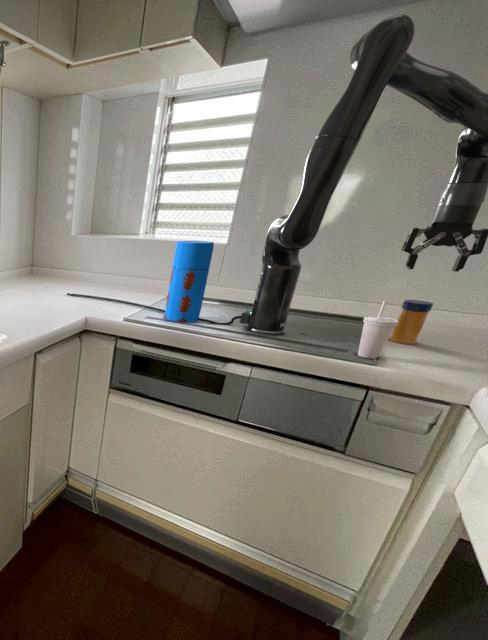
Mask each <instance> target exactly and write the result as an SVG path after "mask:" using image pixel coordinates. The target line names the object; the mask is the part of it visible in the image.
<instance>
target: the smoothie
mask: <svg viewBox="0 0 488 640" xmlns="http://www.w3.org/2000/svg"><path fill="white" fill-rule="evenodd" d="M387 302H388V301H386V300H383V301H382V304H381V307H380V309H379V312H378V315H377V316H376V315H367V316H364V318H363V320H362V321H363V327H362V332H361V336H360V340H359V341H360V342H359V346H358V352H357V356H358V357H360V358H361V357H362V358H366V359H377V358H378V357H379V355H380V354H381V352H382V350H383V349H384V346H385V345H386V343H387V342H388V340H389V339H390V337H391V335H392V333H393V330H394V328H395V326H398V323H399V321H398V319H395V318H391V317H385V316H382V315H383V312H384V309H385V307H386V304H387Z"/></svg>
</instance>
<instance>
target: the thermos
mask: <svg viewBox="0 0 488 640" xmlns="http://www.w3.org/2000/svg"><path fill="white" fill-rule="evenodd" d="M214 247H215V242H214V241H209V240H208V241H207V240H178V241H177V243H176V245H175V251H174V257H173V261H172V262H173V263H172V269H171V273H170V274H171V275H170V280H169V286H168V292H167V297H166V304H165V310H166V311H165V312H164V318H165V319H166V320H168V321H171V322H176V323H177V322H178V323H185V324H186V323H197V322H198V318H200V314H201V310H202V308H203V307H202V306H203V302H204V296H205V292H206V287H207V282H208V278H209V272H210V268H211V267H210V266H211V262H212V257H213V252H214Z"/></svg>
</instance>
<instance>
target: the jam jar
mask: <svg viewBox="0 0 488 640" xmlns="http://www.w3.org/2000/svg"><path fill="white" fill-rule="evenodd" d="M429 313H430V311H428V312H422V311H412V310H407V309H403V308H402V307H401V310H400V313H399V315H398V318H397V320H398V321H399V323H398V326H395V328H394V330H393V331H392V333H391V335H390V337H389V340H390V341H392V342H395V343H398V344H403V345H404V344H405V345H414V344H416V343H417V341H418V339H419V336H420V333H421V331H422V330H423V327H424V324H425V322H426V320H427V317H428V315H429Z"/></svg>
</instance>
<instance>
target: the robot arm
mask: <svg viewBox="0 0 488 640" xmlns="http://www.w3.org/2000/svg"><path fill="white" fill-rule="evenodd" d="M415 33H416V25H415V22H414V20H413V18H412V17H411V16H409V15H408V14H404V13H399V14H397V13H396V14H394V15H391V16H388V17H386V18H385V19H383V20H381V21H380V22H378V23H377V24H375V25H374V26H372V27H371V28H370V29H369V30H368V31H366V32H365V33H364V34H363V35H362V36H361V37H360V38H359V39H357V40H356V41H355V43H354V44H353V46H352V48H351V49H350V52H349V56H348V61H349V66H350V68H351V69H352V71H354V72H353V74H352V76H351V78H350V81H349V83H348V85H347V87H346V89H345V91H344V92H343V94H342V96H341V98H340V99H339V100H338V102H337V103H336V104H335V106H334V107H333V109H332V110H331V112H330V113H329V114H328V116H327V117H326V119H325V121H324V122H323V124H322V126H321V127H320V129H319V131H318V133H317V135H316V136H315V139H314V141H313V142H312V145H311V147H310V149H309V152H308V155H307V157H306V160H305V164H304V170H303V177H302V186H301V190H300V193H299V196H298V198H297V200H296V202H295V204H294V205H293V208H292V210H291V212H290V214H285V215H282V216H280V217H278V218H276V219H275V220H274V221H273V222H272V223H271V224H270V227H269V228H268V231H267V234H266V236H265V237H266V238H265V241H264V247H263V252H262V257H261V272H260V275H259V280H258V283H257V288H256V292H255V296H254V298H253V302H252V307H251V309H250V310H245V311H243V312H241V315H237V316H234V317H232V318H231V319H230V321H227V322H218V321H214V320H211V319H207V318H200V317H199V318H198V321H199V322H205V323H209V324H212V325H225V326H230V325H232V324H234V322H235V321H236V320H239V324H244V325H246V331H248V332H253V333H257V334H262V335H272V336H278V335H282V334H284V331H285V327H287V324H288V322H287V320H288V316H289V313H290V309H291V305H292V302H293V298H294V295H295V292H296V288H297V285H298V281H299V278H300V274H301V271H302V264H301V262H300V257H299V255H300V252H301V250H303V249H304V248H305V249H306V247H308V246H309V245H310V244H311V243H312V242H313V241H314V240H315V239H316V237H317V234H318V233H319V230H320V229H321V225H322V222H323V219H324V217H325V214H326V212H327V209H328V206H329V203H330V202H331V199H332V197H333V195H334V193H335V191H336V189H337V187H338V185H339V183H340V181H341V180H342V178H343V175H344V173H345V171H346V169H347V167H348V165H349V163H350V161H351V160H352V158H353V156H354V154H355V152H356V150H357V148H358V146H359V143H360V142H361V139H362V137H363V135H364V133H365V130H366V128H367V127H368V125H369V122H370V120H371V119H372V116H373V114H374V112H375V111H376V108H377V105H378V103H379V101H380V99H381V96H382V95H383V92H384V90H385V88H386V87H387V86H388V87H389V88H392V89H393V90H396V91H397V92H399V93H401V94H402V95H404V96H406V97H408V98H410V99H412V100H413V101H415V102H416V103H417V104H418V105H420V106H421V107H422V108H425V109H426V110H427V111H429V112H430V113H431V114H433V115H434V116H435V117H437V118H438V119H440V120H441V121H443V122H445V123H448V124H459V125H461V126H463V127H462V129H461V131H460V133H459V134H458V138H457V143H456V148H455V155H454V157H455V158H454V166H453V167H452V170H451V172H450V174H449V176H448V180H447V182H446V185H445V187H444V188H443V191H442V192H441V194H440V195H439V199H438V202H437V204H436V206H435V209H434V212H433V214H432V217H431V219H430V222H429V224H428V226H427V227H426V228H420V227H419V228H418V227H412V228H410V229H409V231H408V233H407V236H406V238H405V240H404V242H403V245H402V247H401V252H404V253H407V254H408V257H407V259H406V262H405V267H406V269H407V270H414V268H415V265H416V263H417V260H418V258H419V253H421V252H422V251H424V250H425V249H427V248H429V247H430V246H434V247H441V246H444V247H454V248H455V249H456V251H457V252H458V254H459V255H457V257H456V259H455V261H454V264H453V266H452V268H451V272H456V273H458V272H460V270H463V269H464V268H465V266H466V264H467V261H468V259H469V257H471V256H474V255H480V254H482V253H483V250H484V248H485V245H486V242H487V240H488V228H480V229H479V228H478V229H477V228H476V229H473V225H474V224H475V221H476V219H477V216H478V215H479V212H480V209H481V207H482V205H483V203H484V202H485V199H486V196H487V193H488V92H485V91H483V90H482V89H481V88H480V87H478V86H477V85H475V84H474V83H473V82H471V81H470V80H468V79H467V78H465V76H463V75H461V74H459V73H457V72H455V71H452V70H449V69H446V68H443V67H440V66H436V65H432V64H429V63H426V62H423V61H422V60H420V59H417V58H416V57H414V56H413V55H411V53H409V52H408V50H409V48H410V47H411V45H412V43H413V40H414V36H415ZM422 234H423V235H424V236H425V239H424V240H422V241H421V242H419V243H418V244H417V245H415V246H414V247H413V244H414V242H415V240H416V239H417V238H418V237H419V238H420V236H421V235H422ZM471 235H472V237H473V238H474V241H473V243H472V247H471V249H469V248H468V245H467V242H466V241H465V239H467V238H468V237H470V236H471ZM412 247H413V248H412ZM70 293H71V292H67V293H66V295H67V296H72V297H82V298H90V299H96V300H104V301H109V302H110V301H111V302H116V303H121V304H126V305H131V306H136V307H140V308H143V309H144V308H145V309H149V310H153V311H157V312H161V313H165V311H166V309H162V308H158V307H154V306H150V305H146V304H141V303H136V302H131V301H127V300H121V299H115V298H110V297H109V298H108V297H104V296H103V297H102V296H96V295H88V294H79V293H72V294H70ZM198 321H197V322H198Z"/></svg>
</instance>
